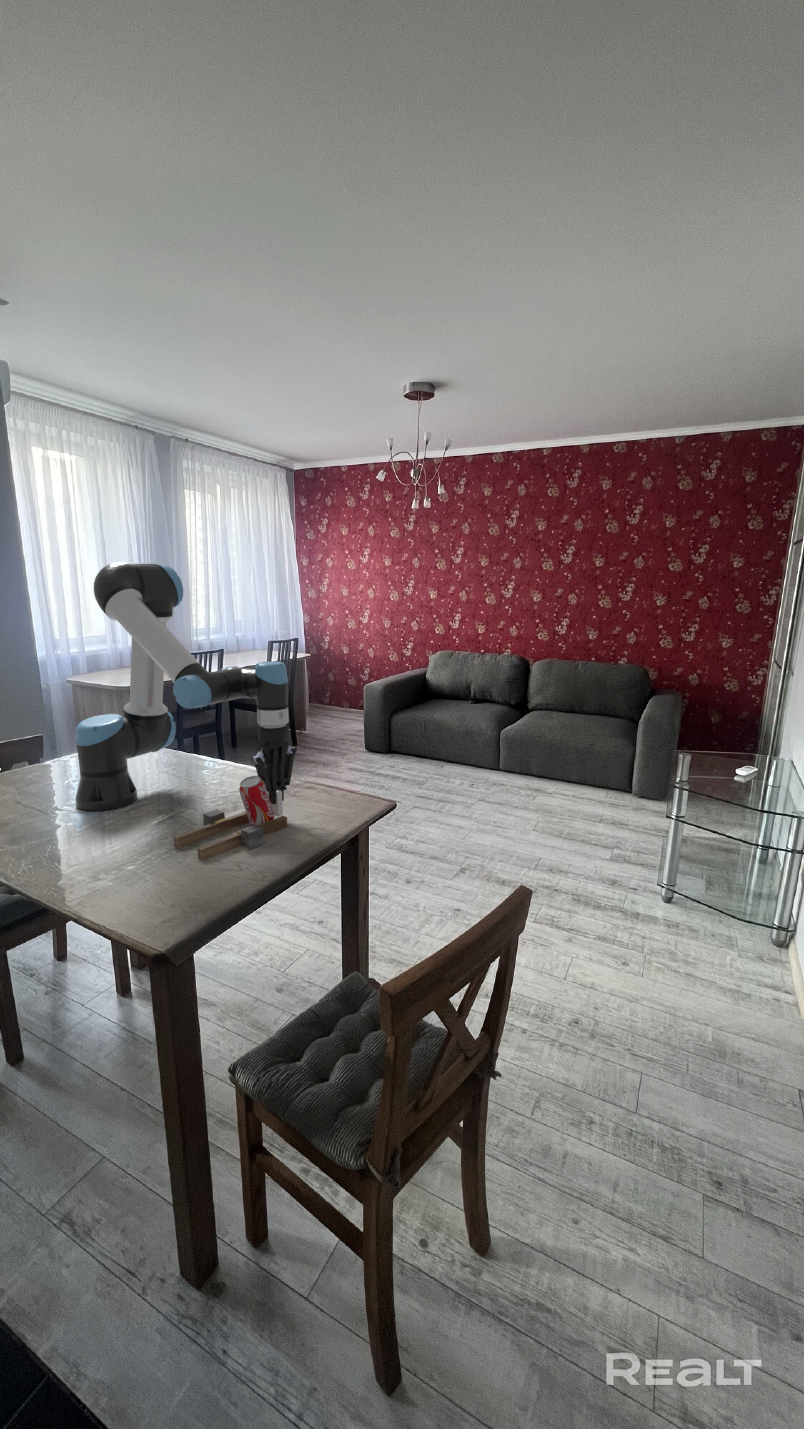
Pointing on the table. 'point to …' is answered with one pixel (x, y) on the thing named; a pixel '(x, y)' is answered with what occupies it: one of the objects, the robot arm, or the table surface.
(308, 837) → the table surface
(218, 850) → the wooden bars with blocks
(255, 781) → the beverage can
